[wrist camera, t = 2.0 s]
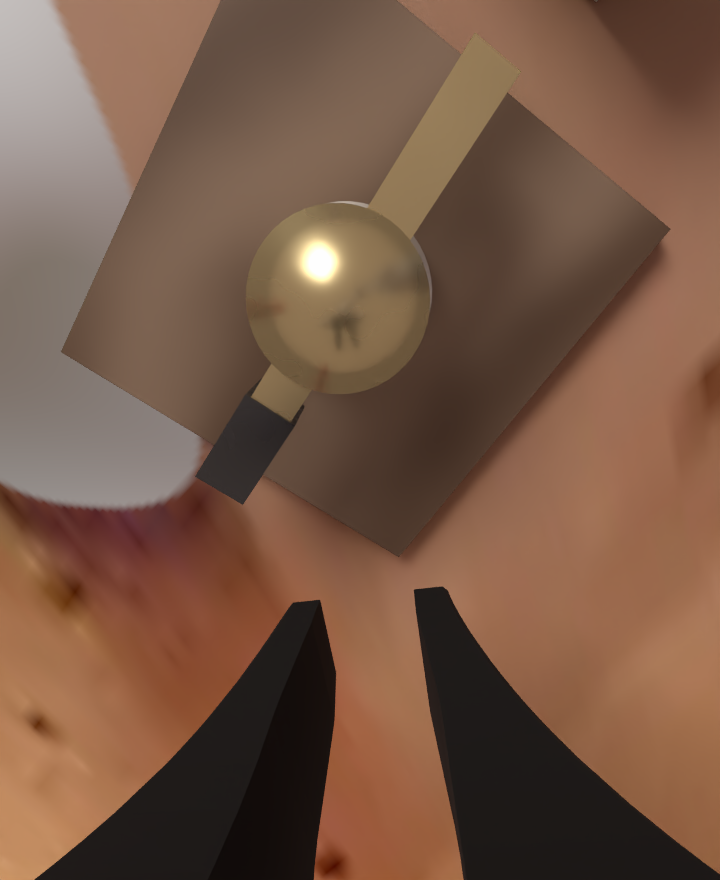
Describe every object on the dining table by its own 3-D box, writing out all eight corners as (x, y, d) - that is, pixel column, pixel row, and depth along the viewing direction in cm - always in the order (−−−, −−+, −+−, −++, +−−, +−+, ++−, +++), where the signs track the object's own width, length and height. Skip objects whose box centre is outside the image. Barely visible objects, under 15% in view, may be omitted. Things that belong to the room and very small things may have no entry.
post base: (655, 230, 15) (713, 223, 13) (397, 545, 20) (401, 589, 17) (275, -86, 13) (249, -173, 11) (74, 348, 17) (20, 363, 15)
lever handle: (549, 141, 12) (581, 119, 10) (297, 499, 16) (287, 531, 14) (405, 22, 11) (410, -26, 10) (175, 425, 15) (146, 448, 13)
